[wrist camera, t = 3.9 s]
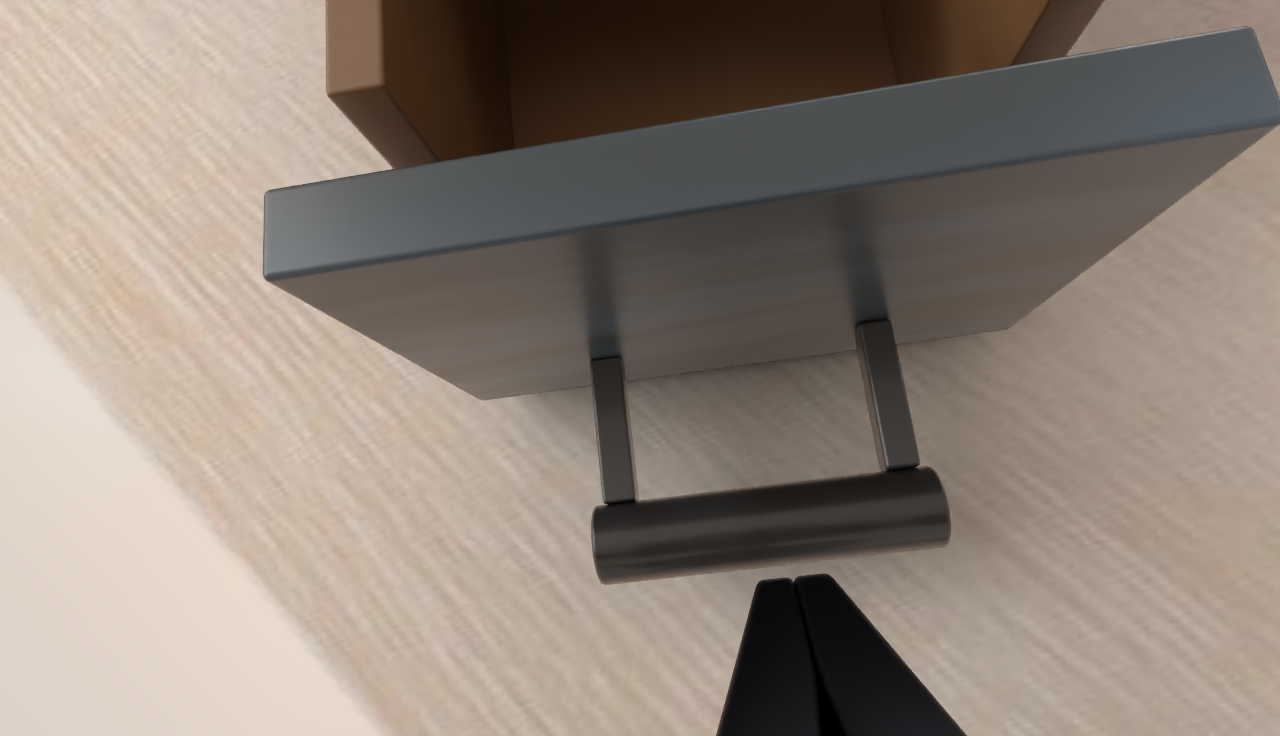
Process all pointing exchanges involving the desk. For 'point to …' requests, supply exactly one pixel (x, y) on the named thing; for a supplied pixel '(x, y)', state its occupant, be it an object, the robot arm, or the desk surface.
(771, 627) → the robot arm
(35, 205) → the desk surface
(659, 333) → the drawer
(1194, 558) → the desk surface
